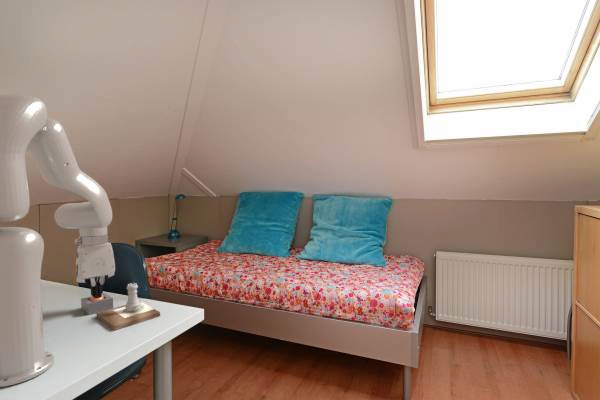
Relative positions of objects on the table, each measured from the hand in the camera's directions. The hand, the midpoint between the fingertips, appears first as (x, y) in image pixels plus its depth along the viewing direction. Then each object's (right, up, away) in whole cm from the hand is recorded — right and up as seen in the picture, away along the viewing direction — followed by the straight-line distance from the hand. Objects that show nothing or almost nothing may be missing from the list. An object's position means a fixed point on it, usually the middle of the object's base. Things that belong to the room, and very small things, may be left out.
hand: (97, 296), depth 110 cm
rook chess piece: (+14, -3, -4) cm, 15 cm away
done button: (0, -2, 0) cm, 2 cm away
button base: (0, -4, 0) cm, 4 cm away
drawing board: (+13, -4, -6) cm, 15 cm away
